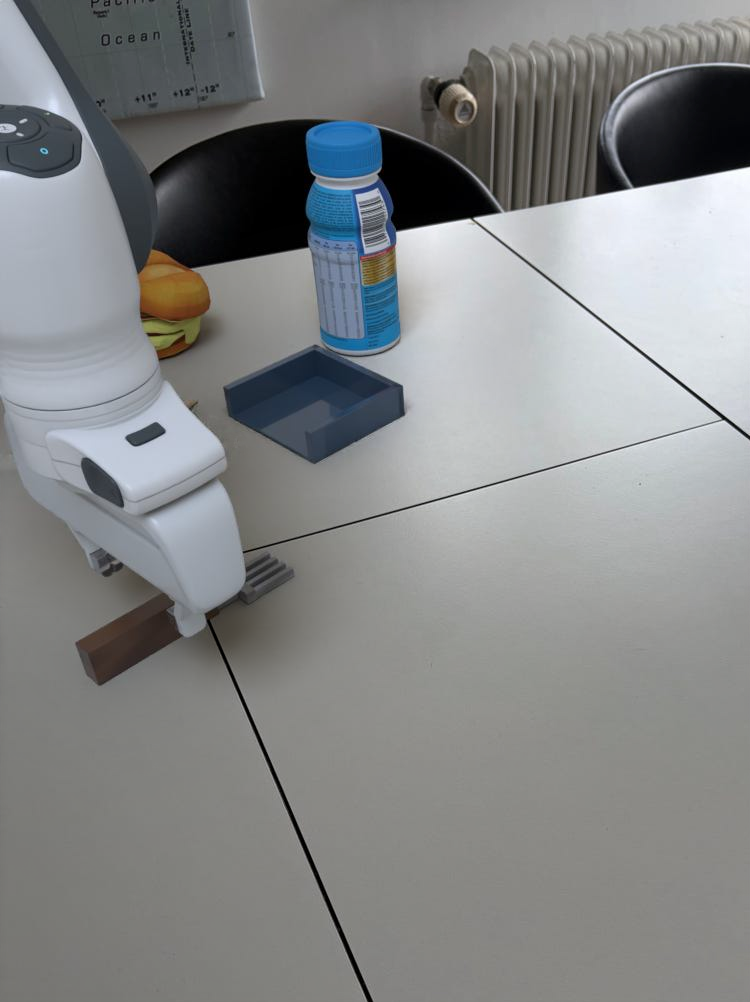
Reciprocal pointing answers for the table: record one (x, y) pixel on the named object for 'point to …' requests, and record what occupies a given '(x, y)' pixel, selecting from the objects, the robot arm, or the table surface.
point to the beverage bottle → (352, 239)
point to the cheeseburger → (171, 303)
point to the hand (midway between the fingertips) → (148, 598)
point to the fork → (163, 623)
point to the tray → (314, 402)
